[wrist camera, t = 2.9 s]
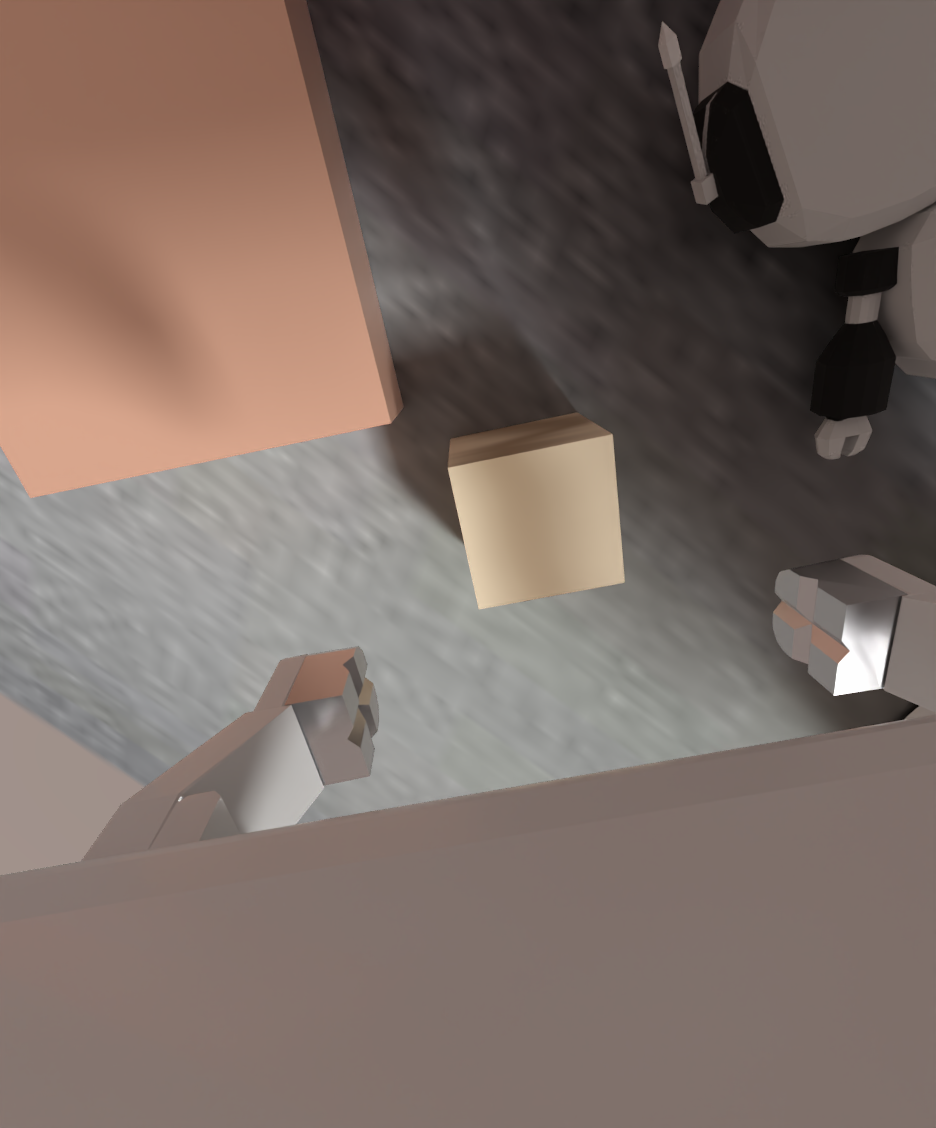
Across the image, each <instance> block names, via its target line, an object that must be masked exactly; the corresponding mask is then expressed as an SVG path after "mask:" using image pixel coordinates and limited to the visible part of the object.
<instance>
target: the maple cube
mask: <svg viewBox="0 0 936 1128" xmlns="http://www.w3.org/2000/svg"><path fill="white" fill-rule="evenodd" d="M448 472H449V476H450V481H451V485H452V490H453V494H454V499H455V503H456V508H457V512H458V517H459V521H460V526H461V531H462V535H463V540H464V544H465V549H466V553H467V558H468V562H469V567H470V571H471V576H472V580H473V585H474V589H475V594H476V599H477V603H478V608H479V609H484V608H489V607H495V606H500V605H506V604H511V603H517V602H522V601H528V600H533V599H538V598H544V597H549V596H555V595H560V594H566V593H571V592H576V591H582V590H587V589H593V588H598V587H604V586H609V585H614V584H620V583H625V579H624V567H623V554H622V542H621V530H620V517H619V505H618V493H617V480H616V468H615V456H614V443H613V434H612V433H610V432H608V431H607V430H605V429H603V428H602V427H600V426H599V425H597V424H595V423H594V422H592V421H590V420H589V419H587V418H585V417H584V416H582V415H581V414H579V413H577V412H576V413H571V414H567V415H562V416H557V417H552V418H548V419H543V420H538V421H533V422H528V423H524V424H519V425H514V426H509V427H504V428H500V429H495V430H490V431H485V432H480V433H476V434H471V435H466V436H461V437H456V438H452V439H450V448H449V459H448Z"/></svg>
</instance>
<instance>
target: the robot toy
mask: <svg viewBox="0 0 936 1128" xmlns="http://www.w3.org/2000/svg"><path fill="white" fill-rule="evenodd" d="M658 47H659V51H660V55H661V59H662V63H663V66H664V69H667V71H668V75H669V78H670V82H671V86H672V90H673V94H674V98H675V101H676V105H677V109H678V113H679V117H680V121H681V125H682V128H683V132H684V136H685V140H686V144H687V148H688V152H689V155H690V159H691V163H692V167H693V171H694V175H695V179H693V180H692V181H691V185H692V189H693V193H694V196H695V200H696V203H698V204H704V205H707V204H710V207H711V210H712V211H713V212H714V213H715V214H716V215H717V216H718V217H719V218H720V219H721V220H722V221H723V222H724V223H725V224H726V225H727V226H728V227H729V229H730V230H731V231H732V232H733V233H738V232H742V231H747V230H750V231H751V232H752V233H753V234H755V235H756V236H757V237H758V238H759V239H760V240H761V241H762V242H763V243H764V244H765V245H767V246H768V247H806V246H812V245H819V244H826V243H833V242H839V241H844V240H848V239H852V238H856V237H860V236H861V238H860V239H859V241H858V243H857V245H856V247H855V249H854V251H853V253H851V254H847V255H843V256H839V262H838V269H837V277H836V284H835V292H836V293H838V294H839V295H841V296H846V297H848V304H847V311H846V318H845V323H844V325H843V326H842V327H841V328H840V330H839V331H838V332H837V333H836V335H835V336H834V337H833V339H832V340H831V341H830V343H829V344H828V346H827V347H826V349H825V350H824V352H823V353H822V354H821V356H820V357H819V359H818V360H817V362H816V368H815V376H814V384H813V392H812V400H811V408H810V411H812V412H814V413H816V414H817V415H819V416H825V417H826V418H825V420H824V421H823V423H822V424H821V426H820V427H819V429H818V430H817V432H816V433H815V442H816V450H817V453H818V454H819V455H820V456H822V457H824V458H825V459H837V458H840V454H843V455H845V456H852V455H855V454H857V453H858V452H860V451H862V450H863V449H865V447H866V444H867V442H868V440H869V437H870V435H871V433H872V428H871V426H870V423H869V421H868V418H867V415H871V414H876V413H878V412H881V411H883V410H886V407H887V402H888V397H889V392H890V387H891V381H892V376H893V371H894V366H895V363H896V364H897V365H898V366H899V367H900V368H901V369H902V370H903V371H904V372H905V373H906V374H908V375H915V376H921V377H928V378H934V379H936V0H721V1H720V3H719V5H718V7H717V10H716V12H715V15H714V17H713V20H712V22H711V25H710V28H709V30H708V33H707V35H706V38H705V40H704V43H703V45H702V48H701V50H700V53H699V105H698V106H697V108H696V109H695V111H694V112H693V113H692V109H691V105H690V101H689V97H688V93H687V89H686V85H685V81H684V77H683V73H682V68H681V64H680V60H682V56H681V52H680V48H679V44H678V39H677V35H676V34H675V33H674V32H673V31H672V30H671V29H670V28H669V27H668V26H667V25H666V24H665V23H664V22H663V21H662V25H661V32H660V38H659V44H658Z"/></svg>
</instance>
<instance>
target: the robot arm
mask: <svg viewBox="0 0 936 1128" xmlns="http://www.w3.org/2000/svg"><path fill="white" fill-rule="evenodd" d="M775 593H776V594H777V596H778V597H779V598H780V599H781V600H782V601H781V602H780V604H779V605H778V606H777V608H776V609H775V610H774V612H773V626H772V628H773V631H774V634H775V637H776V641H777V642H778V644H779V645H780V647H781V649H782V650H783V651H784V652H785V653H786V654H787V655H788V656H789V657H790V658H792V659H794V660H797V661H800V662H803V663H806V664H808V673H809V674H810V675H811V676H812V677H813V678H814V679H815V680H817V681H818V682H819V683H820V684H821V685H822V686H823V687H825V688H826V689H827V690H828V691H829V692H830V693H832V694H833V695H841V694H848V693H855V692H862V691H868V690H875V689H882V688H884V691H886V692H889V693H891V694H893V695H896V696H898V697H900V698H903V699H905V700H907V701H910V702H912V703H914V704H917V705H919V707H917V708H916V709H915V710H914V711H913V712H912V713H911V714H909V715H908V716H907V717H906V718H905V719H904V720H900V721H894V722H888V723H882V724H876V725H871V726H865V727H859V728H853V729H847V730H842V731H836V732H830V733H824V734H818V735H813V736H807V737H801V738H795V739H789V740H784V741H778V742H772V743H766V744H760V745H755V746H749V747H743V748H737V749H731V750H726V751H720V752H714V753H708V754H702V755H697V756H691V757H685V758H679V759H673V760H667V761H662V762H656V763H650V764H644V765H638V766H633V767H627V768H621V769H615V770H609V771H604V772H598V773H592V774H586V775H580V776H574V777H569V778H563V779H557V780H551V781H545V782H540V783H534V784H528V785H522V786H516V787H511V788H505V789H499V790H493V791H487V792H481V793H476V794H470V795H464V796H458V797H452V798H447V799H441V800H435V801H429V802H423V803H418V804H412V805H406V806H400V807H394V808H388V809H383V810H377V811H371V812H365V813H359V814H354V815H348V816H342V817H336V818H330V819H325V820H319V821H313V822H307V823H301V824H296V823H297V822H298V821H299V819H300V818H301V817H302V816H303V814H304V813H305V812H306V811H307V809H308V808H309V807H310V805H311V804H312V803H313V802H314V800H315V799H316V798H317V796H318V795H319V794H320V793H321V791H322V790H323V789H324V785H329V784H334V783H339V782H344V781H349V780H353V779H358V778H363V777H368V776H370V773H371V767H372V762H373V756H374V750H375V748H374V745H373V742H372V737H373V736H374V734H375V733H376V732H377V731H378V724H379V705H378V700H377V695H376V691H375V688H374V684H373V683H372V682H371V681H369V680H368V679H367V678H365V674H366V670H367V662H366V659H365V656H364V653H363V651H362V649H361V648H360V647H359V646H357V647H351V648H345V649H338V650H332V651H326V652H320V653H313V654H309V655H308V654H305V655H300V656H295V657H290V658H285V659H283V660H280V662H279V664H278V665H277V667H276V669H275V671H274V673H273V675H272V677H271V679H270V681H269V683H268V685H267V687H266V689H265V690H264V692H263V694H262V696H261V698H260V700H259V702H258V704H257V706H256V708H255V710H254V711H253V712H248V713H245V714H243V715H242V716H241V717H239V718H238V719H237V720H235V721H234V722H232V723H231V724H230V725H228V726H227V727H226V728H224V729H223V730H222V731H220V732H219V733H218V734H216V735H215V736H213V737H212V738H211V739H209V740H208V741H207V742H205V743H204V744H203V745H201V746H200V747H199V748H197V749H196V750H194V751H193V752H192V753H190V754H189V755H188V756H186V757H185V758H184V759H182V760H181V761H180V762H178V763H177V764H175V765H174V766H173V767H171V768H170V769H169V770H167V771H166V772H165V773H163V774H162V775H161V776H159V777H158V778H156V779H155V780H154V781H152V782H151V783H150V784H148V785H147V786H146V787H144V788H143V789H142V790H140V791H139V792H137V793H136V794H135V795H133V796H132V797H131V798H129V799H128V800H127V801H125V802H124V803H123V804H122V805H120V807H119V808H118V809H117V811H116V812H115V814H114V815H113V816H112V818H111V819H110V821H109V822H108V824H107V825H106V826H105V828H104V829H103V831H102V832H101V834H100V835H99V837H98V838H97V839H96V841H95V842H94V843H93V845H92V846H91V848H90V849H89V851H88V852H87V853H86V855H85V856H84V858H83V859H82V861H81V862H75V863H69V864H63V865H58V866H52V867H46V868H40V869H35V870H29V871H23V872H17V873H11V874H6V875H0V1128H936V586H934V585H932V584H930V583H928V582H926V581H924V580H922V579H920V578H917V577H915V576H913V575H911V574H909V573H907V572H905V571H903V570H901V569H898V568H896V567H894V566H892V565H890V564H888V563H886V562H884V561H881V560H879V559H877V558H875V557H873V556H871V555H861V554H860V555H855V556H851V557H846V558H842V559H837V560H832V561H827V562H822V563H817V564H812V565H808V566H803V567H798V568H793V569H788V570H784V571H781V572H779V574H778V576H777V579H776V583H775Z"/></svg>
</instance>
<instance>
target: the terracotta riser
mask: <svg viewBox="0 0 936 1128" xmlns="http://www.w3.org/2000/svg"><path fill="white" fill-rule="evenodd" d="M403 408H404V406H403V401H402V397H401V393H400V389H399V385H398V381H397V376H396V372H395V368H394V364H393V360H392V356H391V351H390V347H389V343H388V339H387V335H386V331H385V326H384V322H383V318H382V314H381V310H380V306H379V301H378V297H377V293H376V289H375V285H374V281H373V276H372V272H371V268H370V264H369V260H368V256H367V251H366V247H365V243H364V239H363V235H362V231H361V226H360V222H359V218H358V214H357V210H356V206H355V201H354V197H353V193H352V189H351V185H350V181H349V176H348V172H347V168H346V164H345V160H344V156H343V151H342V147H341V143H340V139H339V135H338V131H337V126H336V122H335V118H334V114H333V110H332V106H331V101H330V97H329V93H328V89H327V85H326V81H325V76H324V72H323V68H322V64H321V60H320V56H319V51H318V47H317V43H316V39H315V35H314V31H313V26H312V22H311V18H310V14H309V10H308V6H307V1H306V0H0V446H1V448H2V450H3V451H4V453H5V455H6V457H7V458H8V460H9V462H10V464H11V465H12V467H13V469H14V470H15V472H16V474H17V476H18V477H19V479H20V481H21V483H22V484H23V486H24V488H25V490H26V491H27V493H28V495H29V496H30V498H33V497H38V496H43V495H47V494H52V493H57V492H62V491H67V490H72V489H76V488H81V487H86V486H91V485H96V484H101V483H105V482H110V481H115V480H120V479H125V478H129V477H134V476H139V475H144V474H149V473H154V472H158V471H163V470H168V469H173V468H178V467H183V466H187V465H192V464H197V463H202V462H207V461H212V460H216V459H221V458H226V457H231V456H236V455H241V454H245V453H250V452H255V451H260V450H265V449H270V448H274V447H279V446H284V445H289V444H294V443H299V442H303V441H308V440H313V439H318V438H323V437H327V436H332V435H337V434H342V433H347V432H352V431H356V430H361V429H366V428H371V427H376V426H381V425H385V424H390V423H392V422H393V420H394V419H395V418H396V417H397V415H398V414H399V413H400V412H401V410H402V409H403Z"/></svg>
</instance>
